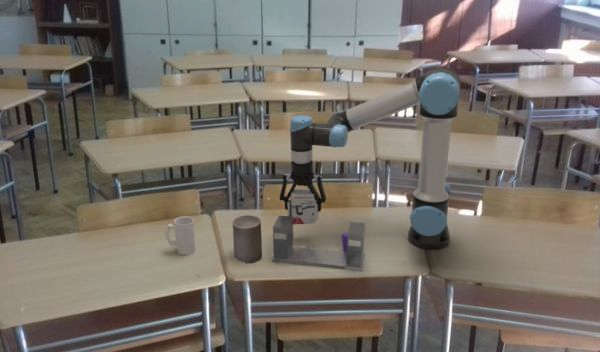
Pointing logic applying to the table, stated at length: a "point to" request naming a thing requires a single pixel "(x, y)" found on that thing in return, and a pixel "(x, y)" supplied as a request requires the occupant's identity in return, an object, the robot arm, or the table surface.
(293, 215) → the ink box
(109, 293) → the table surface
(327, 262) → the rail
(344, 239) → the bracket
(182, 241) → the mug
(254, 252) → the pillar candle
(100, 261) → the table surface
